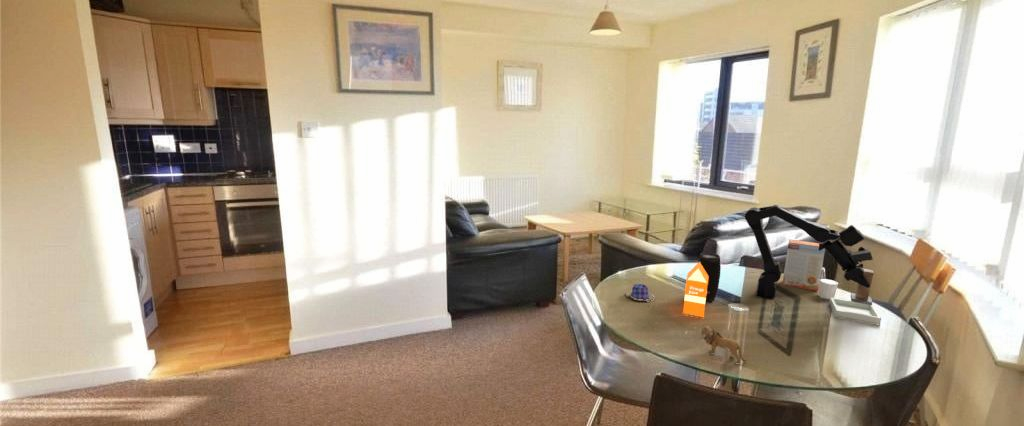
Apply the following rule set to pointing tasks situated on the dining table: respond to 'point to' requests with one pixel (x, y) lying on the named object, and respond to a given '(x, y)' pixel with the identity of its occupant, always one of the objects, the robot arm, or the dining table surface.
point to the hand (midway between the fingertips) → (868, 285)
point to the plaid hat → (640, 292)
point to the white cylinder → (827, 288)
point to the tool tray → (854, 311)
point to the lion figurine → (720, 342)
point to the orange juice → (696, 291)
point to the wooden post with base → (863, 290)
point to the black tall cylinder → (711, 273)
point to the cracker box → (803, 265)
